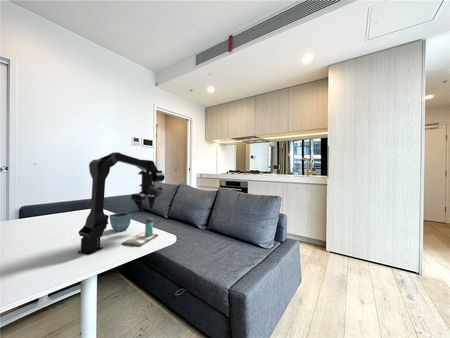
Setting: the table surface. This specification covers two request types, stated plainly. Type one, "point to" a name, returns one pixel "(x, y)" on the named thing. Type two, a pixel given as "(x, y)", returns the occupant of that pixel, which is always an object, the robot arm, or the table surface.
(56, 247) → the table surface
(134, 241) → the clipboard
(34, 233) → the table surface
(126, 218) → the flower pot
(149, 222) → the teal capped bottle
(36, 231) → the table surface
